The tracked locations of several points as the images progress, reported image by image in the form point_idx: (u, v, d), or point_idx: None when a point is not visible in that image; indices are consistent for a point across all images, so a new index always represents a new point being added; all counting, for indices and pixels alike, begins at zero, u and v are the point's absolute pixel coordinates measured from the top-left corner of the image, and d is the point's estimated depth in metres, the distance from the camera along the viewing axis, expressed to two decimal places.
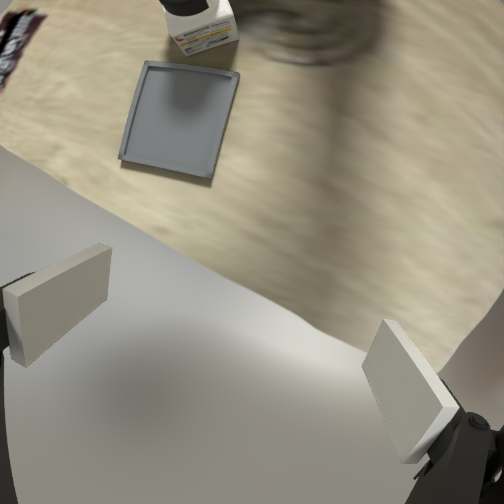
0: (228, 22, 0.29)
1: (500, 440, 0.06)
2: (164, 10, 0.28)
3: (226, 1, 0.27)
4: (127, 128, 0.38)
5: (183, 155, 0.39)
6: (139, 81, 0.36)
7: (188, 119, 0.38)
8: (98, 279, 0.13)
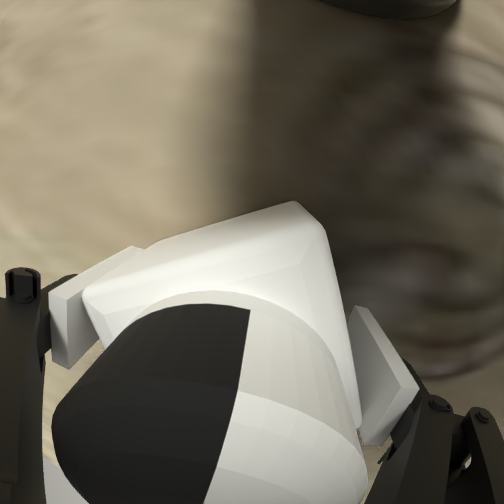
0: None
1: (466, 427, 0.07)
2: None
3: (353, 386, 0.09)
4: None
5: None
6: None
7: None
8: None
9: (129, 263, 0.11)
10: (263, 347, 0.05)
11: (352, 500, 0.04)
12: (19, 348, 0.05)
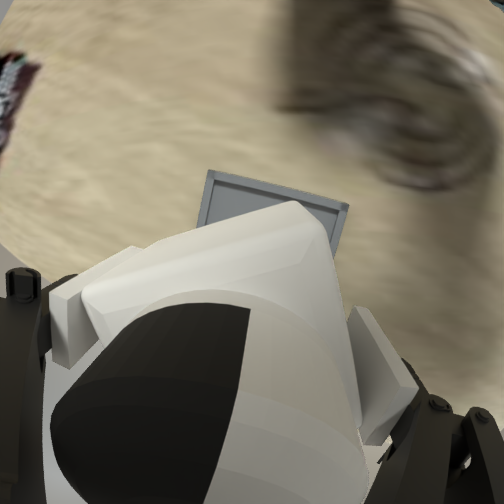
0: None
1: (466, 427, 0.07)
2: None
3: (353, 386, 0.09)
4: None
5: None
6: (203, 203, 0.29)
7: None
8: None
9: (129, 262, 0.11)
10: (263, 346, 0.05)
11: (353, 500, 0.04)
12: (20, 349, 0.05)
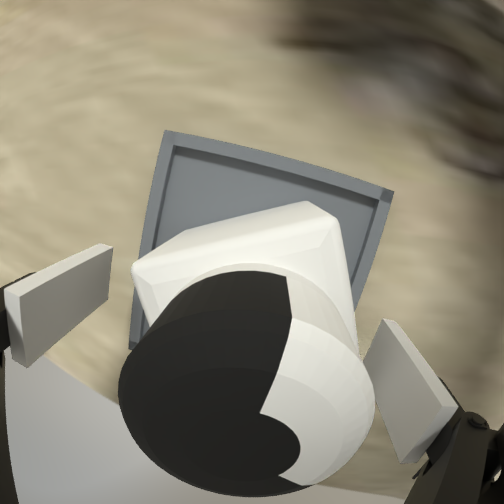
0: None
1: (499, 440, 0.06)
2: None
3: None
4: None
5: None
6: (154, 185, 0.17)
7: None
8: (99, 279, 0.13)
9: (169, 245, 0.13)
10: (300, 297, 0.07)
11: (364, 420, 0.06)
12: None
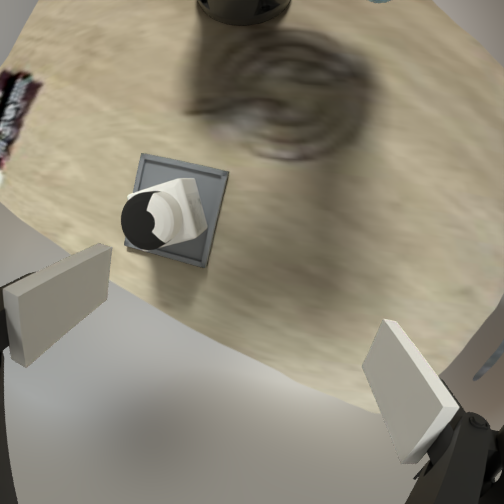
0: None
1: (500, 440, 0.06)
2: None
3: (190, 220, 0.38)
4: None
5: (181, 246, 0.47)
6: (137, 174, 0.44)
7: None
8: (98, 279, 0.13)
9: None
10: (160, 193, 0.34)
11: (169, 216, 0.33)
12: None
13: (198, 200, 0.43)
